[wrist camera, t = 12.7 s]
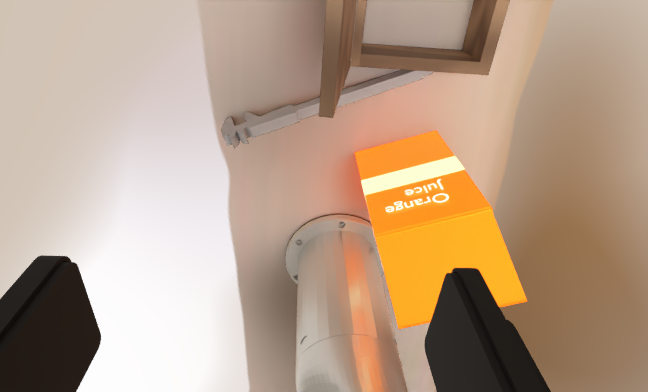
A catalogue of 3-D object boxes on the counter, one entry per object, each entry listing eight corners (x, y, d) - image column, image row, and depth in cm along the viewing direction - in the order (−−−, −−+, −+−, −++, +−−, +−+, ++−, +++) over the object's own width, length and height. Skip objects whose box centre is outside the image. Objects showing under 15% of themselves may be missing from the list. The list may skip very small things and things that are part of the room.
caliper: (230, 126, 40) (219, 153, 35) (226, 116, 39) (214, 142, 34) (431, 71, 38) (452, 92, 33) (430, 60, 37) (451, 79, 32)
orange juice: (353, 151, 42) (386, 290, 25) (436, 129, 41) (530, 257, 24) (369, 210, 46) (406, 364, 29) (445, 191, 45) (530, 338, 28)
